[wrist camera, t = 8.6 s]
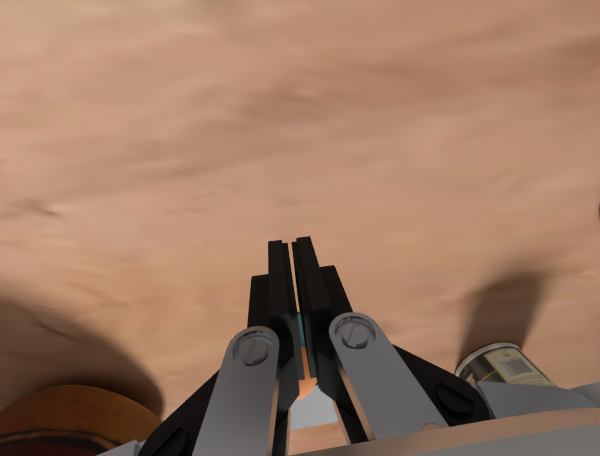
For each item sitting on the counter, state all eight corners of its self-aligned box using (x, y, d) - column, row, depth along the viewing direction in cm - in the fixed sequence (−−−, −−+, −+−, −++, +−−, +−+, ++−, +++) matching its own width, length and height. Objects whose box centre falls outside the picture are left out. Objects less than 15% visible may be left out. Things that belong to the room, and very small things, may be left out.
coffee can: (463, 395, 42) (548, 522, 29) (446, 363, 37) (538, 497, 25) (525, 367, 40) (642, 488, 28) (515, 330, 36) (650, 455, 23)
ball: (324, 401, 26) (315, 394, 31) (319, 342, 28) (311, 343, 33) (269, 407, 25) (269, 398, 30) (268, 345, 28) (268, 346, 33)
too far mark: (337, 380, 36) (337, 381, 35) (337, 419, 40) (338, 421, 40) (264, 393, 35) (264, 394, 35) (273, 432, 39) (273, 433, 39)
